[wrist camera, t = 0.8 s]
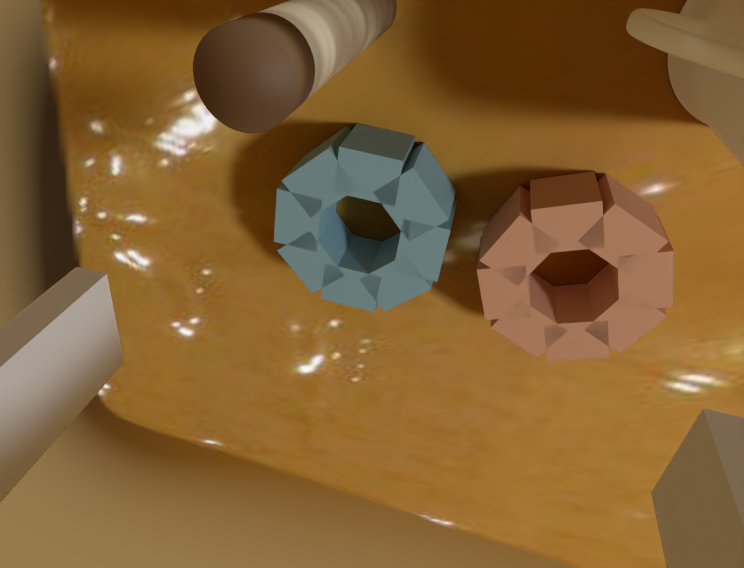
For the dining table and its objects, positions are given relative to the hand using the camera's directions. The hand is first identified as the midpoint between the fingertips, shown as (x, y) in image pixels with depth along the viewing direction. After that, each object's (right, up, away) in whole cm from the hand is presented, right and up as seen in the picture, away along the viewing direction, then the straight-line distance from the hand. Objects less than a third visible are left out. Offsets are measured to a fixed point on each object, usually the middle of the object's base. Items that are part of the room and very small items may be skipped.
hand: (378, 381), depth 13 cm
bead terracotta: (+12, +4, +21) cm, 25 cm away
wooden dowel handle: (0, +16, +17) cm, 23 cm away
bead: (0, +7, +23) cm, 24 cm away
